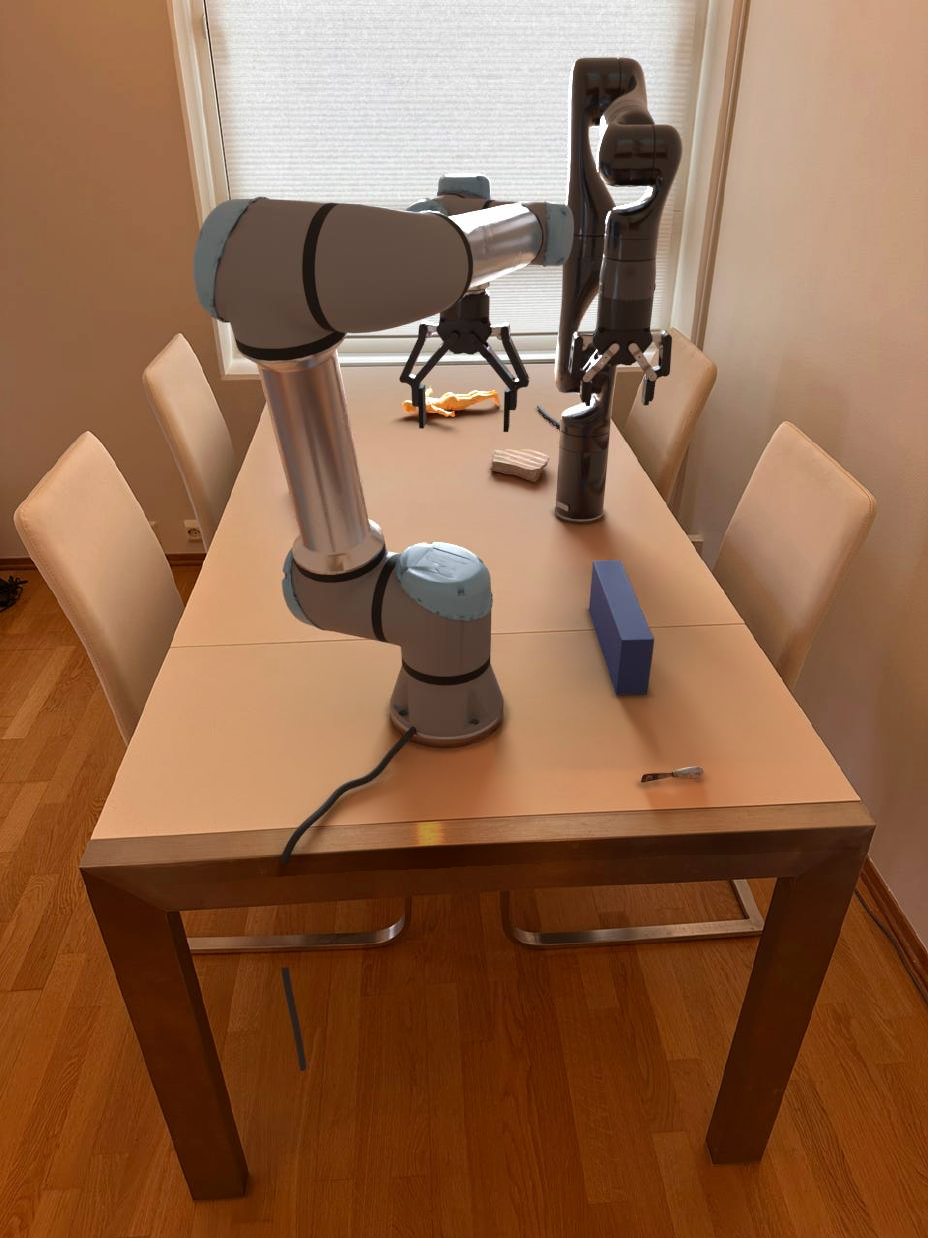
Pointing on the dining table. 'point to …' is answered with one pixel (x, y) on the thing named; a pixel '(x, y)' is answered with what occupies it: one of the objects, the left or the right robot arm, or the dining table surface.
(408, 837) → the dining table surface
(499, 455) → the stone
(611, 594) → the bar
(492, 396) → the human figure
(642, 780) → the putty knife
